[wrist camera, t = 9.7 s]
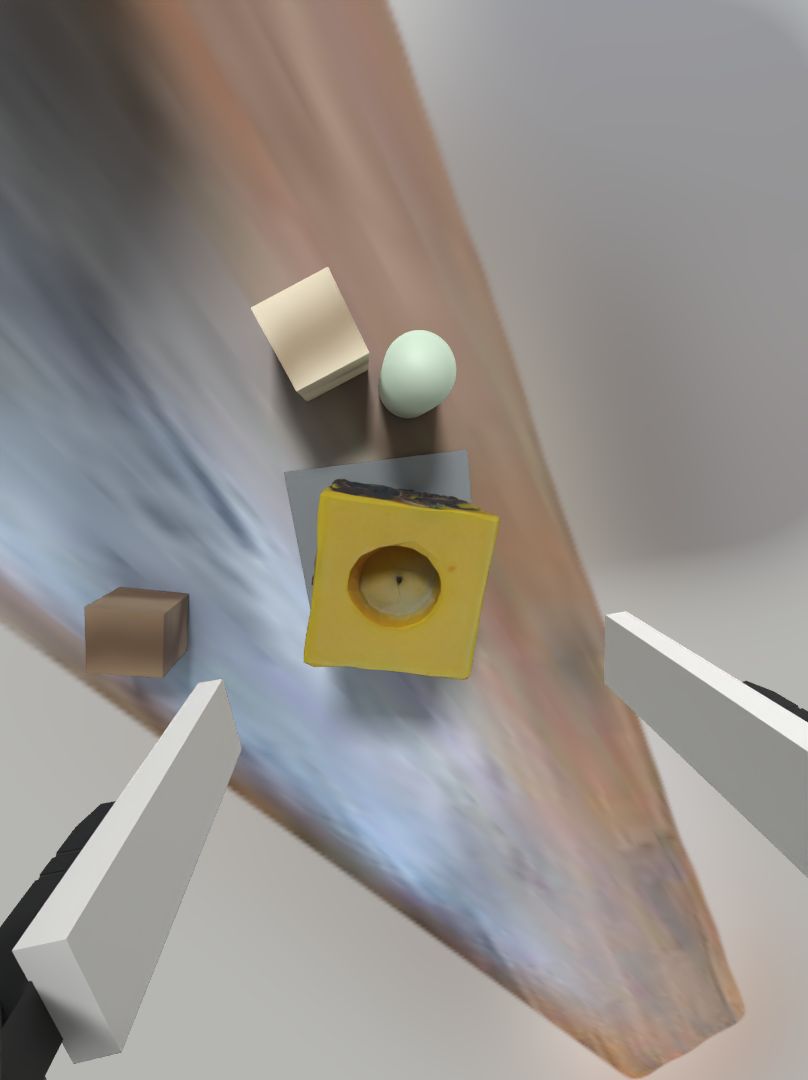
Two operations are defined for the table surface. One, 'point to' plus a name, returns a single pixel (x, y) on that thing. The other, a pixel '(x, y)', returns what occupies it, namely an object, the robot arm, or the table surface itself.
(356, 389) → the table surface
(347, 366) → the maple block
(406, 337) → the sage capsule
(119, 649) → the walnut block
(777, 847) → the robot arm
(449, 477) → the coaster
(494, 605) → the table surface
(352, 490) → the candle
